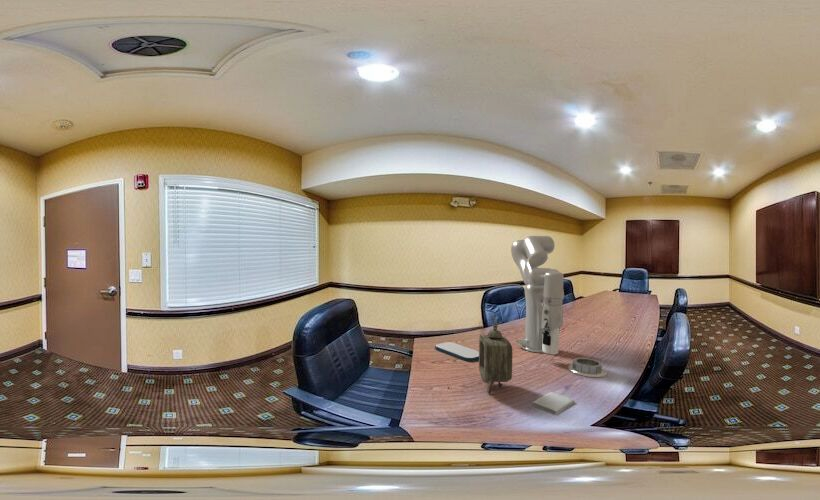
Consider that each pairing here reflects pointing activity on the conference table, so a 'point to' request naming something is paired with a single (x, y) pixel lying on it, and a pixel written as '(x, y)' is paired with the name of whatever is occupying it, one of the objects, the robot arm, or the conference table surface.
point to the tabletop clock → (495, 357)
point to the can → (552, 343)
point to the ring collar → (587, 367)
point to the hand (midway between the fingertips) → (550, 342)
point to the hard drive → (553, 402)
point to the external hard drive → (458, 351)
